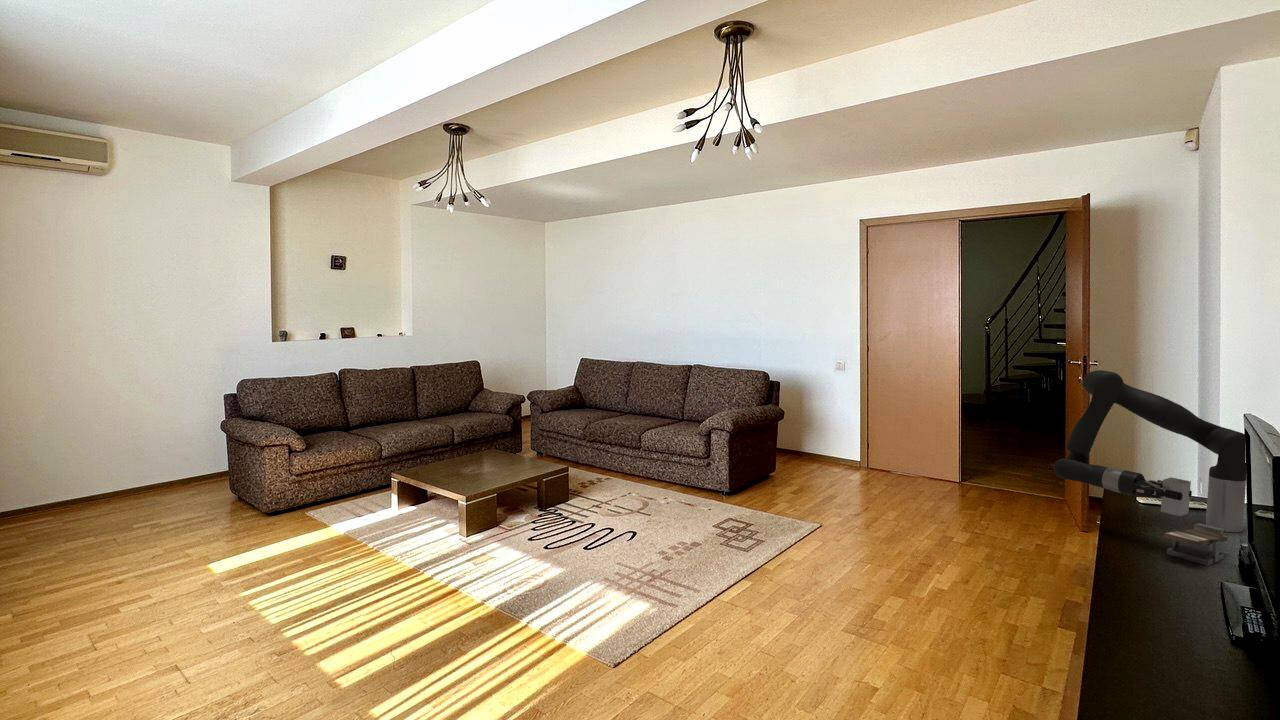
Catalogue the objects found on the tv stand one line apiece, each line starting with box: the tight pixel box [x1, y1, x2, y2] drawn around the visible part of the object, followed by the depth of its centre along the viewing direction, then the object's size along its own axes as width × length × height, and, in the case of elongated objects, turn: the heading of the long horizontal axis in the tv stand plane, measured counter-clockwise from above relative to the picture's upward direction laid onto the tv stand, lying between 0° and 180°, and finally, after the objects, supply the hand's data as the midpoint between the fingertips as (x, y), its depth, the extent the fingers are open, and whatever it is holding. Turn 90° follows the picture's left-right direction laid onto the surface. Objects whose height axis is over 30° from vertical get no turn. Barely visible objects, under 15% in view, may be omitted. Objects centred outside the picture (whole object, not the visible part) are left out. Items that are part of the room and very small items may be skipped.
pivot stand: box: [1166, 529, 1225, 567], centre depth 192 cm, size 10×10×6 cm
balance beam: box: [1163, 522, 1228, 546], centre depth 191 cm, size 20×8×3 cm, turn 119°
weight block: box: [1160, 477, 1192, 517], centre depth 196 cm, size 5×5×10 cm
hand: (1186, 495), depth 193 cm, fingers closed on weight block, 5 cm apart
